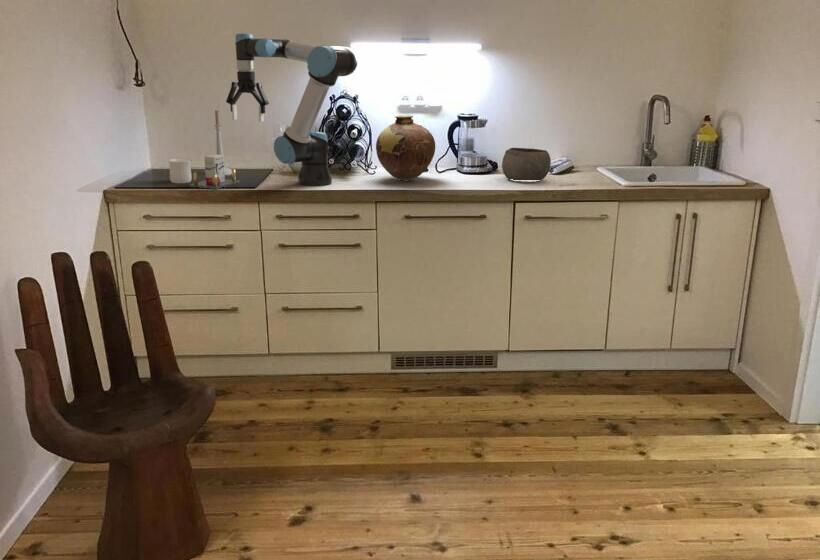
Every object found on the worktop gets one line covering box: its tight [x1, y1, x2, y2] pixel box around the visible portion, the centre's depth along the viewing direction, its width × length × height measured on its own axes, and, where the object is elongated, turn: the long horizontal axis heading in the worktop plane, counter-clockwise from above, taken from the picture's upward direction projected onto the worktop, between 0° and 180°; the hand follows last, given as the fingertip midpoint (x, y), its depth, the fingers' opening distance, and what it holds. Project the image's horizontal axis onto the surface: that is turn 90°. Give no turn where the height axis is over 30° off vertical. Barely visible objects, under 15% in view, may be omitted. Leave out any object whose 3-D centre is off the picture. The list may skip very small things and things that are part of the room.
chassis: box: [188, 168, 241, 190], centre depth 304 cm, size 14×18×6 cm
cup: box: [168, 157, 193, 184], centre depth 309 cm, size 10×10×10 cm
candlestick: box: [213, 110, 232, 176], centre depth 329 cm, size 13×13×30 cm
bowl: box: [501, 147, 552, 181], centre depth 331 cm, size 23×23×15 cm
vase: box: [375, 114, 436, 181], centre depth 321 cm, size 28×27×30 cm
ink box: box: [204, 153, 226, 184], centre depth 303 cm, size 9×5×12 cm, turn 165°
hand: (248, 120), depth 311 cm, fingers open, 13 cm apart
